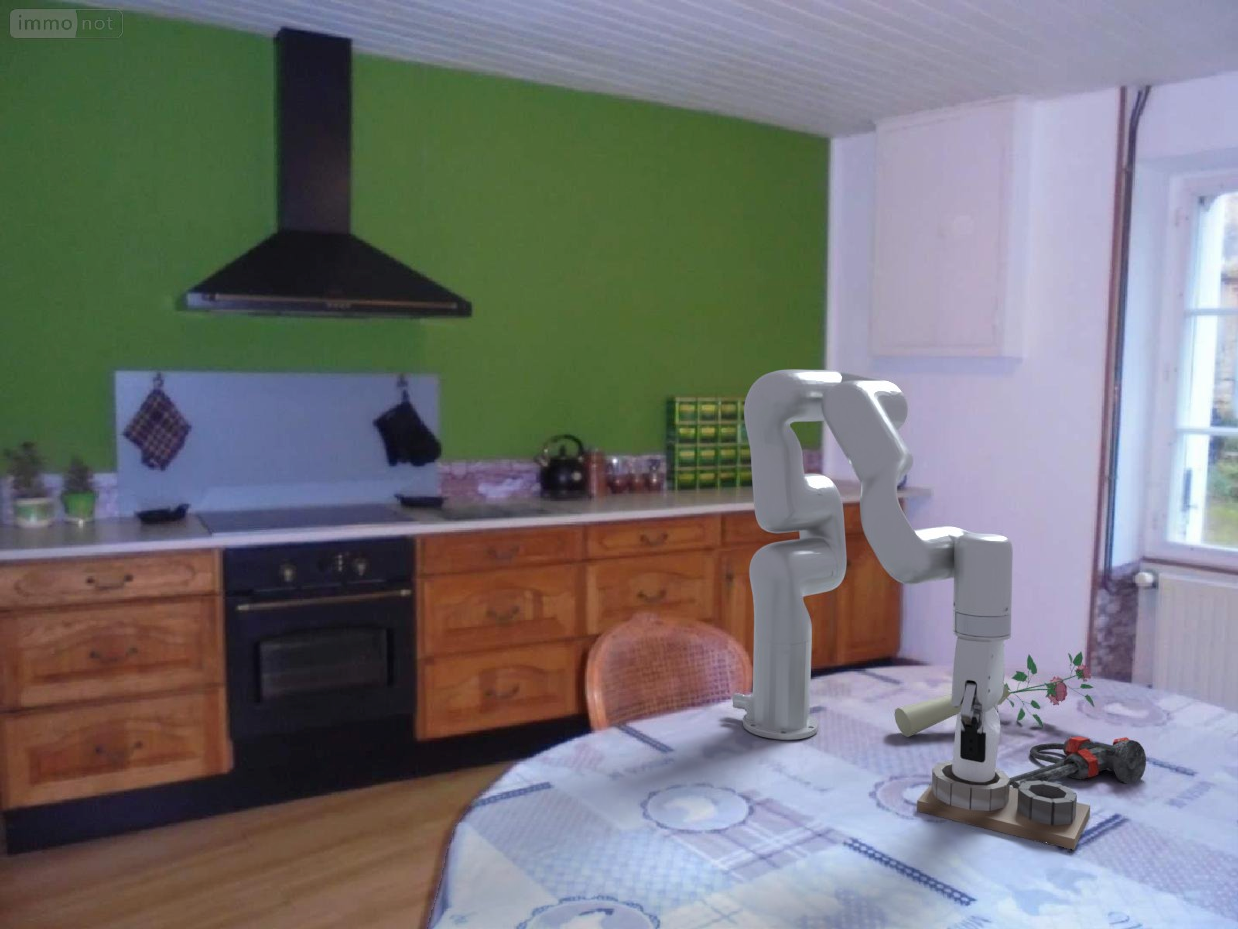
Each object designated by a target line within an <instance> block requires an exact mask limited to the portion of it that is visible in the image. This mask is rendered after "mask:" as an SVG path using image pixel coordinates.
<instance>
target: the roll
mask: <svg viewBox="0 0 1238 929" xmlns="http://www.w3.org/2000/svg"><path fill="white" fill-rule="evenodd" d="M980 708H981V706H979V705H974V709H980ZM960 713H961V711H960V712H959V713H958V714H957V715H956V722H955V729H954V730H955V731H954V732H955V734H954V742H953V743H954V744H953V754H952V756H953V757H952V760H953V763H952V772H953V773H954V775H956V776H957V777H959V778H961V779H964V780H968V781H972V782H987V781H990V780H992V779H993V778H994V776H995V768H997V767H996V765H997V758H998V751H999V750H998V749H999V742H1000V737H1001V720H1000V714H999V712H998V713H997V711H996V709H995V708H994V707H993V708H991V709H990V710H989V711H988V712H986V713H985V721H984V730H983V733H986V755H985V761H984V762H982V763H981V762H976V761H971V760H966V759H962V758H961V757H960V742H961V719H962V718H961V714H960ZM973 717H976V718H977V720H979V714H974V715H973Z"/></svg>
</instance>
